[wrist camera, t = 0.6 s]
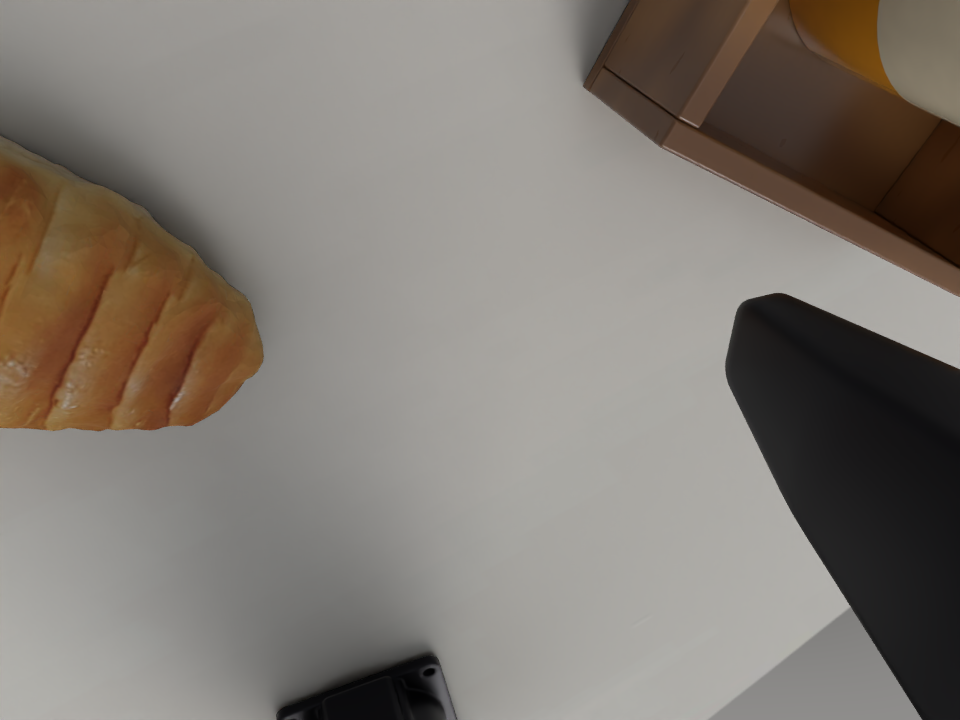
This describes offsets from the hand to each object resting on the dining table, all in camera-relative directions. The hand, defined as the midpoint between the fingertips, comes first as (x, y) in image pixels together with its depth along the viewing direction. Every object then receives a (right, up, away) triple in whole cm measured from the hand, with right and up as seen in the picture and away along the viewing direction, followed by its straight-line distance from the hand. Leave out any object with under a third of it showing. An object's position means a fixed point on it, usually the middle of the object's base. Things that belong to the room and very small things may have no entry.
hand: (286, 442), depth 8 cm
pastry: (-9, +3, +13) cm, 16 cm away
